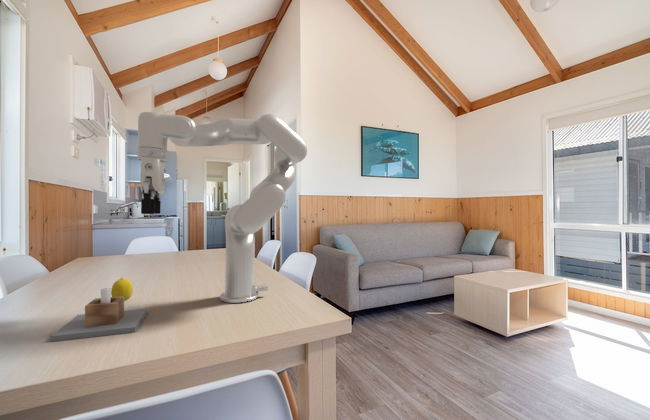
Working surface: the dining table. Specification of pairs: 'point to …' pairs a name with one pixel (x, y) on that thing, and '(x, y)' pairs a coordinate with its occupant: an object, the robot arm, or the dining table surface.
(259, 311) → the dining table surface
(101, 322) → the brown wooden hollow block
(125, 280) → the lemon
